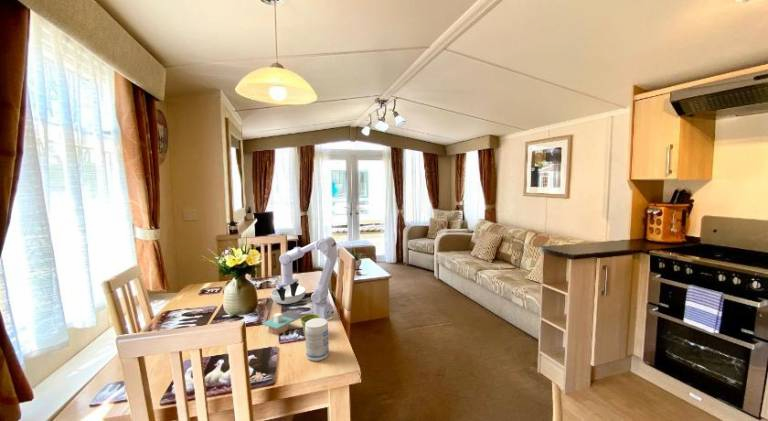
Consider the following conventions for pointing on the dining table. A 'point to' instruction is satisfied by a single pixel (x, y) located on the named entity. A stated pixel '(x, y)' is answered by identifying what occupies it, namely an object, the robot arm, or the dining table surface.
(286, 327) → the bowl
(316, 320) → the supplement tub
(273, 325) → the cover sheet
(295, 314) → the mat
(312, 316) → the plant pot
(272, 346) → the dining table surface
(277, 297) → the serving bowl
